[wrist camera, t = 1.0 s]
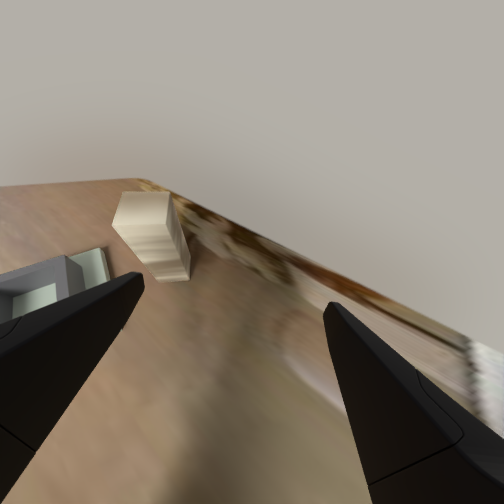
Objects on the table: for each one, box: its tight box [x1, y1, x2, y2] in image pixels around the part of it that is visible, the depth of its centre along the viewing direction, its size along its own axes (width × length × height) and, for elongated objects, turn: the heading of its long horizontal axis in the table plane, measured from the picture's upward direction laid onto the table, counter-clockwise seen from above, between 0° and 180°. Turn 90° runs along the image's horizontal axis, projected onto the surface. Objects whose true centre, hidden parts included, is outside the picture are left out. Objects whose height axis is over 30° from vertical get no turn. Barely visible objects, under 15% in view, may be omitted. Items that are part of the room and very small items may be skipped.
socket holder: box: [0, 248, 122, 331], centre depth 19 cm, size 12×12×4 cm
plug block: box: [112, 192, 191, 283], centre depth 21 cm, size 4×4×12 cm
